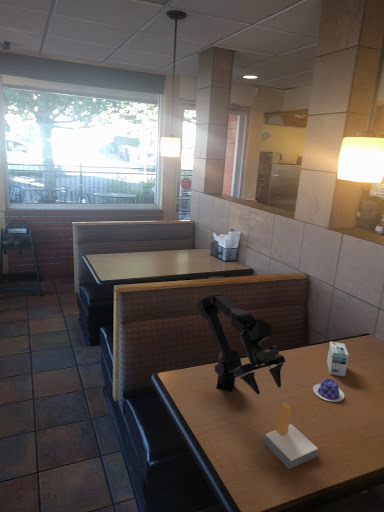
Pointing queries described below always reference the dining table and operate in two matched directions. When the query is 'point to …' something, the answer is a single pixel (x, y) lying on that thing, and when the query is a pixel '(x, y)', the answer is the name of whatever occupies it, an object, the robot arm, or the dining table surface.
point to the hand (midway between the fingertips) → (269, 390)
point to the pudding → (328, 390)
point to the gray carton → (284, 459)
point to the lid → (289, 436)
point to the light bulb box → (337, 359)
